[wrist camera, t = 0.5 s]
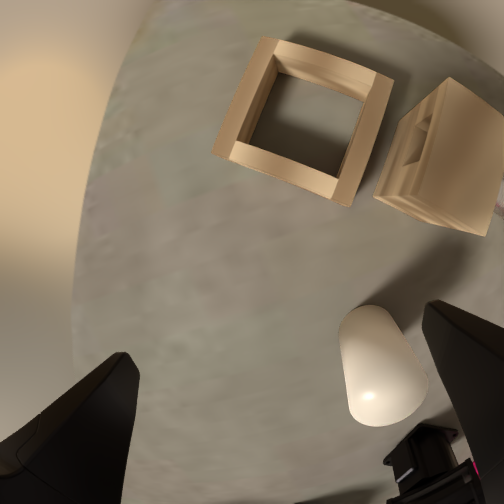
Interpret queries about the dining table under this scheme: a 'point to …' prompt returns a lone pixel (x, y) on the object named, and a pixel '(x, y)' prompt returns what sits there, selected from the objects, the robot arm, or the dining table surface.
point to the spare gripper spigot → (379, 368)
